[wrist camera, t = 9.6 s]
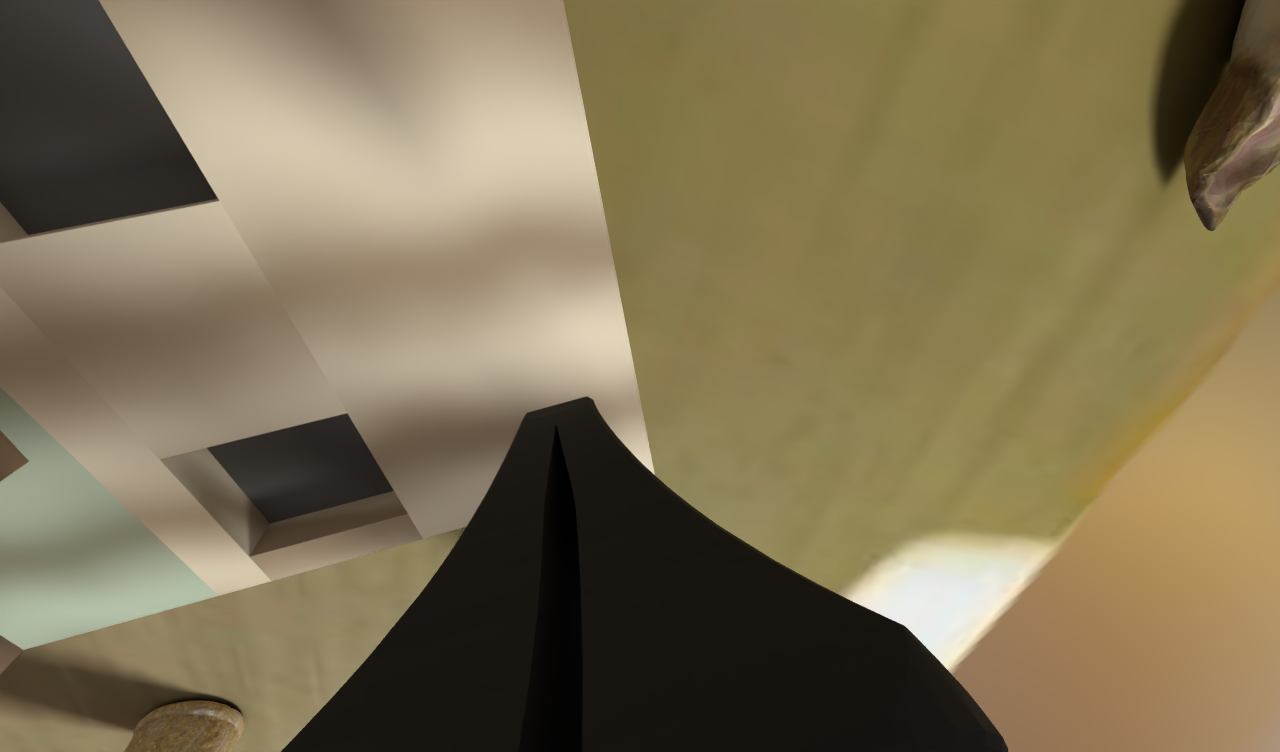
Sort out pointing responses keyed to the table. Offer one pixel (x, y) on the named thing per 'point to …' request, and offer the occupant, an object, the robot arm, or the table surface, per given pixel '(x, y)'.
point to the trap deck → (281, 287)
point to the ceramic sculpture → (1238, 118)
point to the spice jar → (188, 728)
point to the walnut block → (9, 457)
